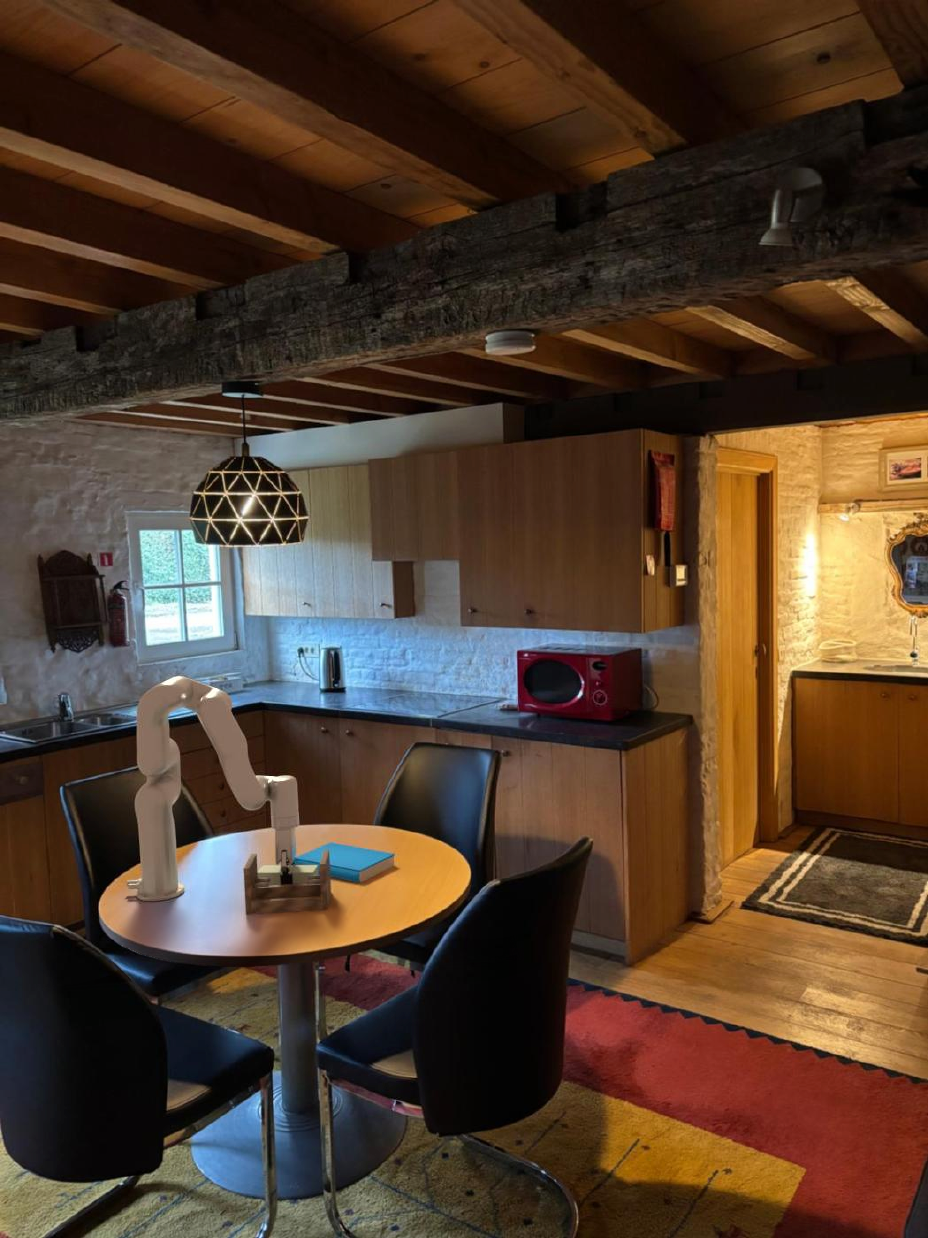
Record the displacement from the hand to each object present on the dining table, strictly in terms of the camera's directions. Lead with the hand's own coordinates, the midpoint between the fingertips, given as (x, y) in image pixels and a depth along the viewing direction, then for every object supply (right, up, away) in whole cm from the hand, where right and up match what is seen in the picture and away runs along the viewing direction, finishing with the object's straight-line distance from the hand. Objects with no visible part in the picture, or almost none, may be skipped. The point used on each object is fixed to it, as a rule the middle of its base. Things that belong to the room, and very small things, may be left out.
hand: (288, 883), depth 260 cm
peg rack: (+3, -2, -13) cm, 13 cm away
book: (+14, 0, +15) cm, 20 cm away
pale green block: (0, -1, 0) cm, 1 cm away
